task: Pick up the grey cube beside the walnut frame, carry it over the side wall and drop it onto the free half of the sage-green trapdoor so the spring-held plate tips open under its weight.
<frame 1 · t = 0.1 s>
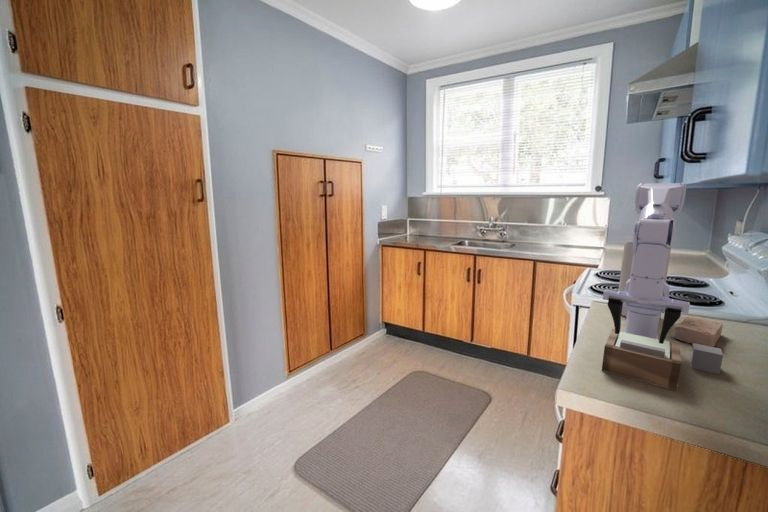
hand: (638, 337, 74), 10 cm above the worktop, tool pointing down, fingers open, 7 cm apart
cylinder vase: (637, 316, 119), on the worktop
grey cube: (703, 367, 82), on the worktop
frame: (639, 368, 81), on the worktop
trapdoor: (642, 343, 81), point 6 cm above the worktop, hinge at 0.0°
brick: (697, 338, 101), on the worktop
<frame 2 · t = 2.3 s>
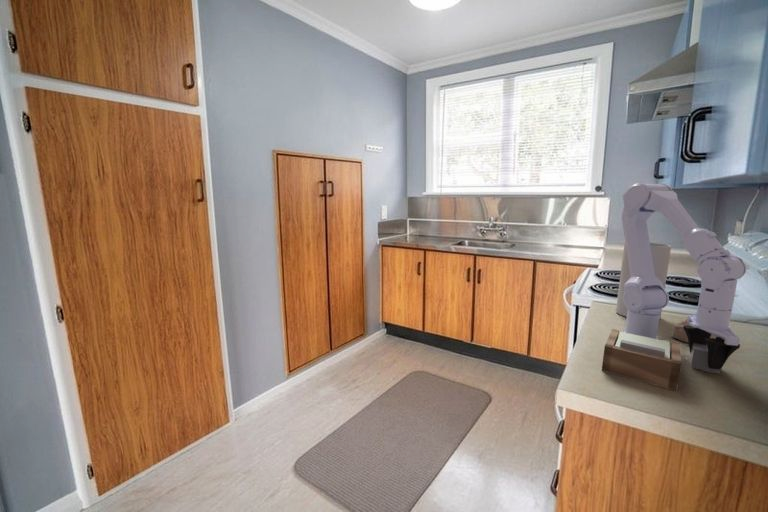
hand: (705, 361, 82), 1 cm above the worktop, tool pointing down, fingers closed on grey cube, 6 cm apart
grey cube: (704, 367, 82), on the worktop, touching gripper
everything else where it was.
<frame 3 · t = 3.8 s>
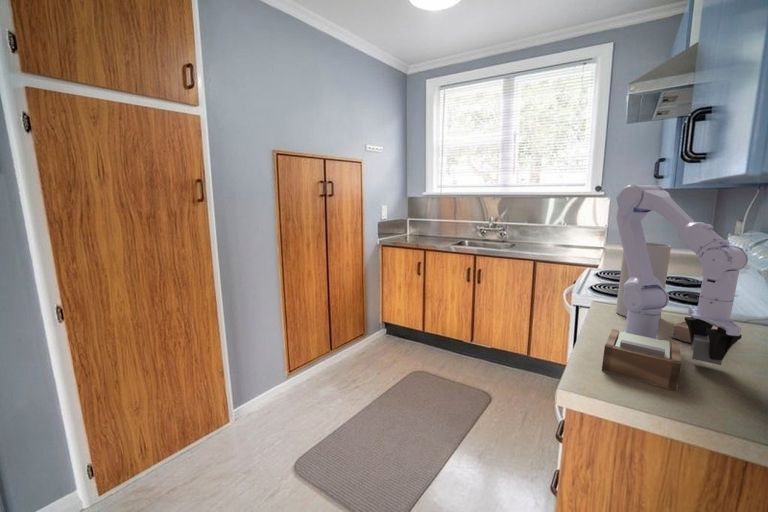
hand: (706, 352, 82), 4 cm above the worktop, tool pointing down, fingers closed on grey cube, 6 cm apart
grey cube: (705, 358, 82), point 2 cm above the worktop, touching gripper
everything else where it was.
when the fingers open (9 cm above the worktop, at t = 5.7 s): grey cube moves 2 cm, resting on frame.
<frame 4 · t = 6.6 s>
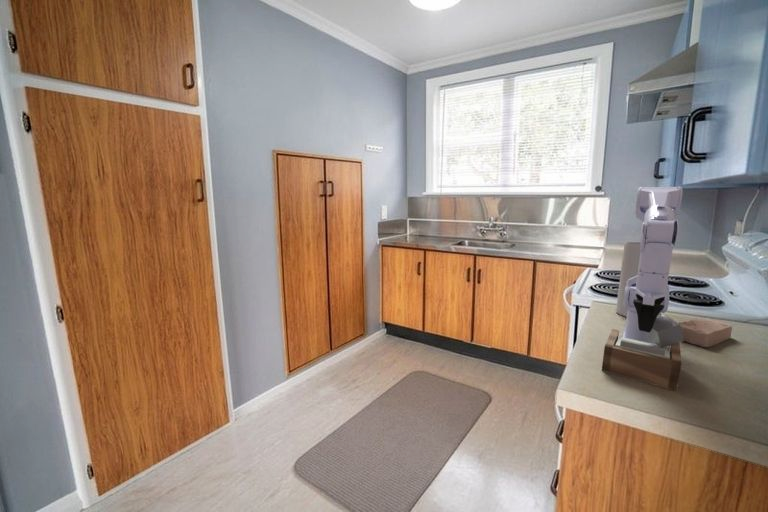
hand: (645, 327, 82), 9 cm above the worktop, tool pointing down, fingers open, 6 cm apart
grey cube: (665, 339, 82), point 6 cm above the worktop, tilted 26°, touching frame, gripper
trapdoor: (642, 345, 81), point 5 cm above the worktop, hinge at -8.3°
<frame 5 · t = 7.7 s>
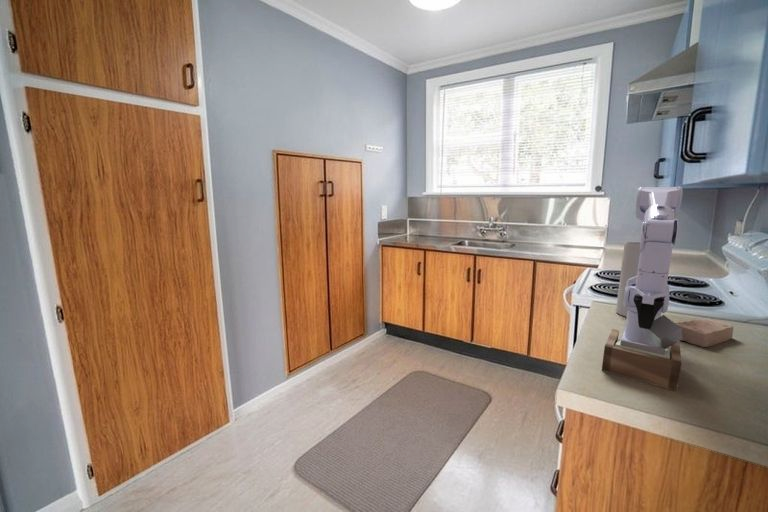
hand: (644, 326, 82), 10 cm above the worktop, tool pointing down, fingers closed, pressing on grey cube
grey cube: (663, 337, 82), point 7 cm above the worktop, tilted 43°, touching frame, gripper
trapdoor: (642, 346, 81), point 5 cm above the worktop, hinge at -11.7°
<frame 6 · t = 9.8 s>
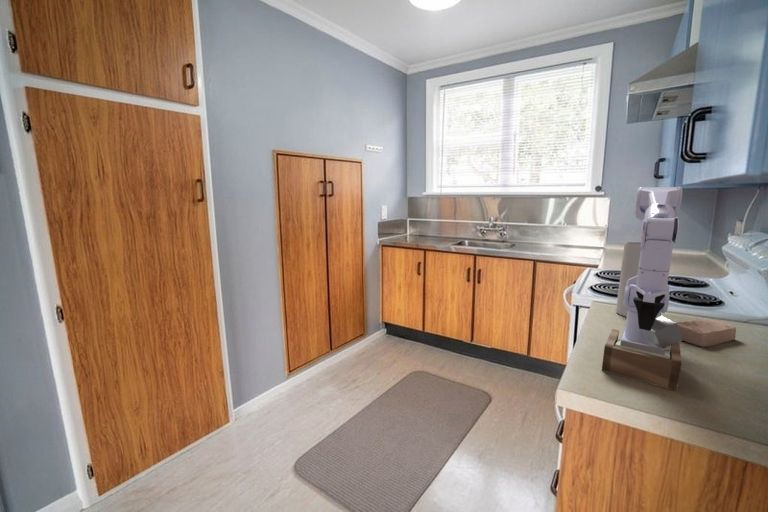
hand: (645, 324, 82), 10 cm above the worktop, tool pointing down, fingers open, 7 cm apart
grey cube: (665, 340, 82), point 6 cm above the worktop, tilted 29°, touching frame, gripper
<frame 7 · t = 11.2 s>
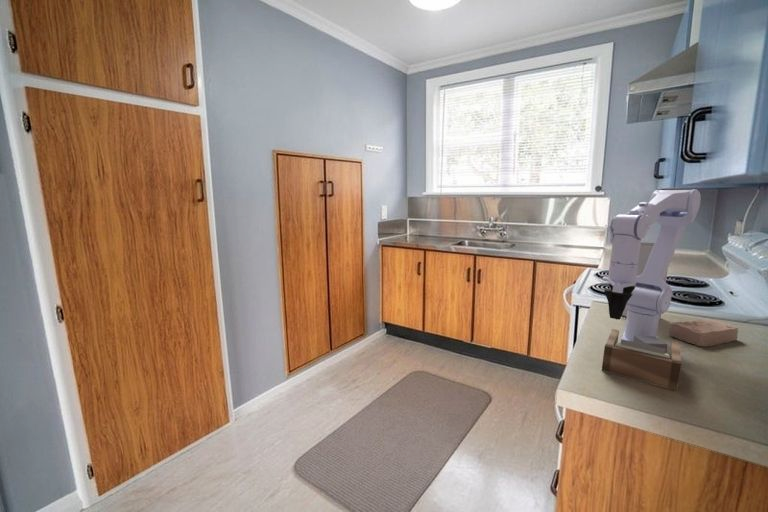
hand: (616, 314, 88), 10 cm above the worktop, tool pointing down, fingers open, 7 cm apart
grey cube: (655, 352, 85), point 2 cm above the worktop, tilted 90°
trapdoor: (642, 348, 81), point 5 cm above the worktop, hinge at -18.1°
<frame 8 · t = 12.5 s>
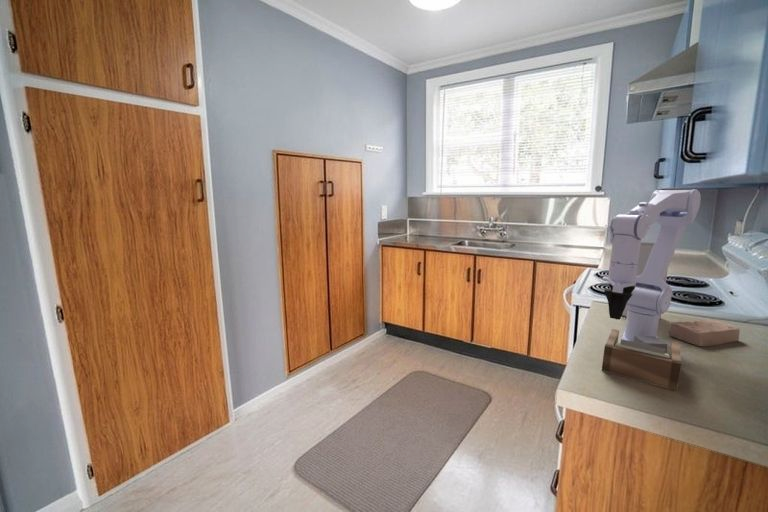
hand: (616, 314, 88), 10 cm above the worktop, tool pointing down, fingers open, 7 cm apart
at the end: trapdoor at -18° (first picture: +0°); grey cube point 2.1 cm above the worktop; the gripper is holding nothing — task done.
